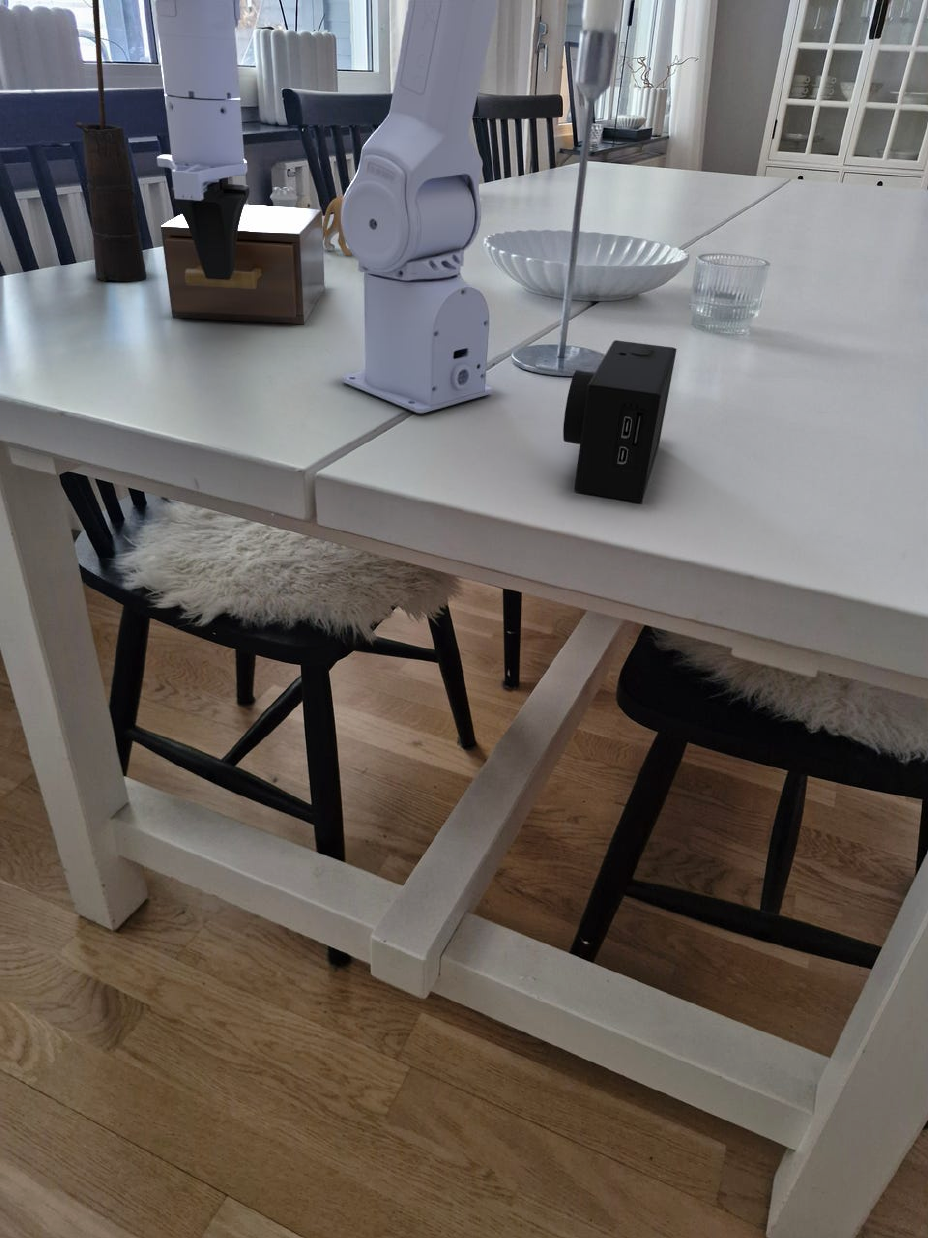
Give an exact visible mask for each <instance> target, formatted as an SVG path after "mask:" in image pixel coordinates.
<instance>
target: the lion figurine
mask: <svg viewBox="0 0 928 1238" xmlns="http://www.w3.org/2000/svg"><path fill="white" fill-rule="evenodd" d="M343 198H344V195H339V196H337V197H335V198H334V199H332V200H331V202H330V203H329V204H328V206H327V207H326V211H325V213H324V218H323V220H322V230H323V247H324V248H325V250H329V251H334V250H335V249H336V246H335V244H333V243H331V240H332V239H333V237H334V236H336V235H337V234H338V238H337V243H338V245H339V248H340V249H341V251H342V253H343V255H345V256H353V254H352V253H351V251H350V250H349V248H348V246H347V243H346V241H345V238H344V235H343V231H342V225H341V208H342V202H343ZM332 214H333V217H332V221H331V223H330V225H329V222H330V218H331V215H332ZM328 225H329V227H328Z"/></svg>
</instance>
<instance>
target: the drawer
mask: <svg viewBox="0 0 928 1238" xmlns="http://www.w3.org/2000/svg"><path fill="white" fill-rule="evenodd" d="M165 244H166V252H167V260H168V267H169V275H170V283H171V291H172V298H173V306H174V311H180V312H199V313H218V314H238V315H257V316H276V317H296V315H297V299H296V281H295V262H294V245H293V244H292V242H273V241H255V240H237V243H236V253H235V262H234V269H233V273H232V275H231V278H230V279H229V280H221V279H207V278H206V277H205V275H204V272H203V269H202V266H201V263H200V260H199V257H198V254H197V250H196V247H195V244H194V241H193V238H192V237H181V238H172V237H169V238H167V239H165Z"/></svg>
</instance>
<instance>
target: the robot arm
mask: <svg viewBox="0 0 928 1238" xmlns="http://www.w3.org/2000/svg"><path fill="white" fill-rule="evenodd" d="M153 3H154V10H155V18H156V28H157V38H158V46H159V54H160V56H159V57H160V65H161V75H162V83H163V92H164V100H165V109H166V110H165V111H166V117H167V118H166V120H167V128H168V136H169V145H170V154H160V155H158V156H157V157H156V162H157V163H156V164H157V167H160V168H169V169H170V171H171V177H172V188H171V189H170V192H171V199H172V201H173V203H174V204H175V206H176V207H177V209H178V211H179V212H180V215H181V214H182V216H183V218H184V219H185V221H186V224H187V226H188V228H189V230H190V233H191V235H192V238H193V241H194V244H195V247H196V250H197V254H198V257H199V260H200V263H201V266H202V269H203V272H204V275H205V277H206V278H207V279H221V280H229V279H230V278H231V275H232V273H233V269H234V262H235V253H236V243H237V235H238V229H239V224H240V220H241V216H242V212H243V209H244V206H245V205H247V201H248V198H249V196H250V192H251V191H250V187H249V186H248V185H245V184H236V183H235V184H234V183H229V178H230V177H237V176H241V175H245V174H247V173H248V161H247V160H246V159H245V148H244V136H243V135H244V134H243V122H242V121H243V120H242V119H243V118H242V107H241V94H240V93H241V92H240V79H239V78H240V77H239V64H238V50H237V49H238V48H237V47H238V46H237V35H236V28H238V26H239V20H241V6H240V5H241V0H154V1H153ZM498 4H499V0H408V2H407V7H406V14H405V19H404V26H403V31H402V32H403V33H402V37H401V42H400V43H401V44H400V49H399V54H398V61H397V66H396V72H395V73H396V74H395V78H394V86H393V89H392V90H393V91H392V97H391V102H390V108H389V113H388V114H387V116H386V118H384V120H383V122H382V123H381V124H380V125H379V126H378V128H376V129H375V131H374V132H373V133H372V134H371V136H370V137H369V138H368V139H367V141H366V142H365V144H363V146H362V148H361V153H360V159H359V164H358V169H357V171H356V174H355V176H354V178H353V180H352V181H351V183H350V184H349V186H348V187H347V188H346V191H345V193H344V195H343V196H344V198H343V202H342V208H341V225H342V231H343V235H344V238H345V241H346V246H347V248H348V249H349V250H350V251H351V253H352V254H353V255H352V256H353V257H354V259H355V260H356V261H357V262H358V271H359V272H361V273H363V299H364V300H363V302H364V303H363V305H364V308H363V310H364V311H363V312H364V315H363V316H364V370H360V371H357V372H356V371H355V372H351V373H348V374H344V375H343V376H341V378H342V379H341V381H342V383H344V384H347V385H349V386H351V387H354V388H356V389H359V390H361V391H363V392H366V393H368V394H371V395H373V396H375V397H378V398H380V399H382V400H385V401H388V402H390V403H392V404H395V405H396V406H399V407H402V408H404V409H406V410H409V411H411V412H413V413H416V414H426V413H429V412H433V411H437V410H439V409H444V408H446V407H450V406H453V405H457V404H460V403H463V402H467V401H468V402H469V401H471V400H475V399H478V398H481V397H484V396H488V395H492V394H493V387H491V386H489V385H487V384H486V381H487V380H486V379H487V367H488V366H487V365H488V349H489V336H490V335H489V333H490V309H489V306H488V302H487V300H486V297H485V296H484V294H483V293H482V292H481V291H480V290H479V289H477V288H476V287H474V286H471V285H470V284H468V283H467V282H466V281H465V279H464V278H463V275H462V274H461V271H462V270H461V269H462V267H463V266H464V258H465V257H464V256H465V251H466V250H467V249H469V247H471V245H472V244H473V243H474V241H475V239H476V238H477V235H478V233H479V231H480V227H481V223H482V222H481V220H482V205H481V204H482V203H481V197H480V179H481V174H482V170H483V165H484V163H483V159H482V156H481V155H480V153H479V151H478V150H477V148H476V145H475V144H474V143H473V141H472V138H471V136H470V129H471V126H472V120H473V116H474V112H475V108H476V103H477V98H478V94H479V89H480V86H481V85H480V84H481V80H482V76H483V72H484V68H485V62H486V57H487V55H488V49H489V44H490V40H491V35H492V31H493V26H494V23H495V18H496V13H497V9H498Z"/></svg>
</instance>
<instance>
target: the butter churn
mask: <svg viewBox="0 0 928 1238" xmlns="http://www.w3.org/2000/svg"><path fill="white" fill-rule="evenodd" d="M91 1H92V2H91V3H92V17H93V18H92V21H93V31H94V40H95V42H94V43H95V56H96V57H95V59H96V60H95V61H96V75H97V91H98V93H97V94H98V99H99V100H98V102H99V123H88V124H84V123H83V122H81V121H80V122H79V121H78V122H76V123H75V126H76V127H77V128H78V129H80V130H82V142H83V148H84V163H85V169H86V180H87V182H86V188H87V191H88V197H89V209H90V217H91V229H92V230H91V232H92V234H91V235H92V243H93V244H92V245H93V256H94V257H93V259H94V269H95V277H96V278H97V279H98V280H100V281H103V282H106V281H107V282H109V281H111V280H113V281H119V282H135V281H136V282H138V281H139V282H140V281H143V280H145V279H147V272H146V262H145V257H144V250H143V243H142V239H141V237H142V236H141V231H140V223H139V219H138V214H137V213H138V212H137V210H138V209H137V206H136V199H135V195H136V191H135V184H134V181H133V172H132V166H131V163H130V157H129V151H128V146H127V141H126V136H125V132H124V128H123V127H122V126H116V125H111V124H107V119H106V109H105V108H106V106H105V102H104V101H105V84H104V70H103V68H104V67H103V56H102V54H103V53H102V38H101V37H102V35H101V20H100V19H101V18H100V0H91Z"/></svg>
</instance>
